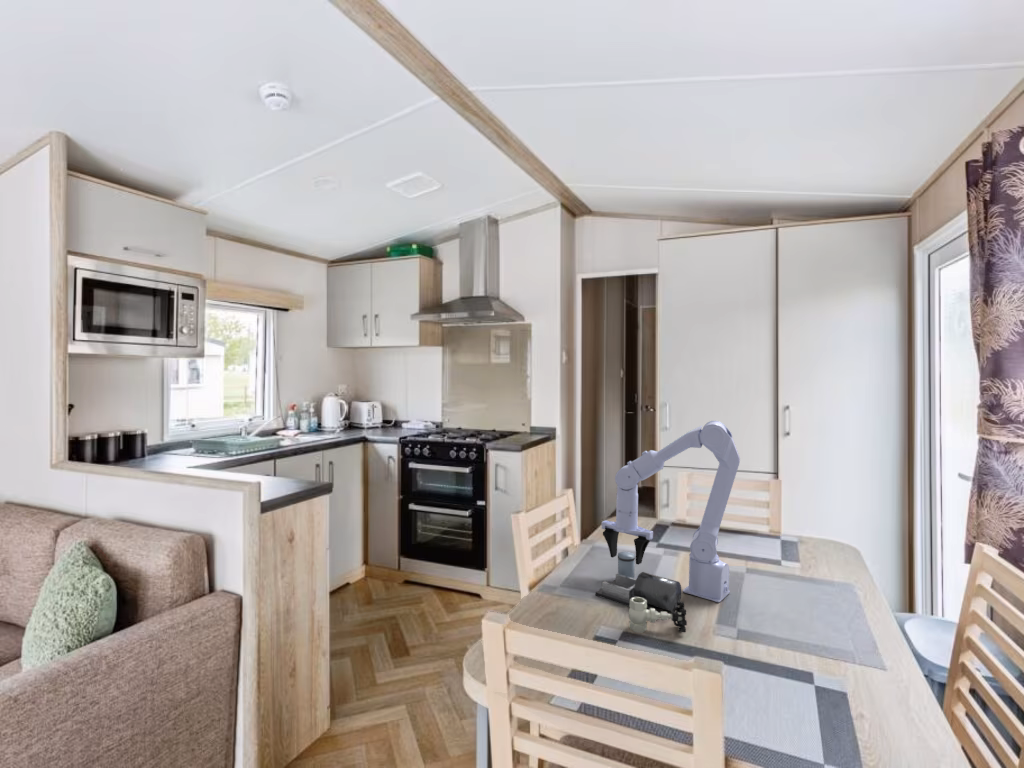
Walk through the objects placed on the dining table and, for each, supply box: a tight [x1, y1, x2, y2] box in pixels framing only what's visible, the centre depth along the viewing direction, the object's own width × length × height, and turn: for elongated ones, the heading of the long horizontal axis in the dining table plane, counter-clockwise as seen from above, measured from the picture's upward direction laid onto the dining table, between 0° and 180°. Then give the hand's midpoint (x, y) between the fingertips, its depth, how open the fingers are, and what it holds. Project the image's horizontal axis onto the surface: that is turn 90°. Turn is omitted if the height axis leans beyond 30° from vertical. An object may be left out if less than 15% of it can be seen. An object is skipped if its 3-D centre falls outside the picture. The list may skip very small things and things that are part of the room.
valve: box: [628, 597, 688, 633], centre depth 122 cm, size 7×7×12 cm
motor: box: [595, 571, 683, 612], centre depth 137 cm, size 19×10×7 cm, turn 50°
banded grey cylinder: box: [617, 551, 636, 579], centre depth 149 cm, size 5×5×7 cm
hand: (626, 559), depth 149 cm, fingers open, 7 cm apart
